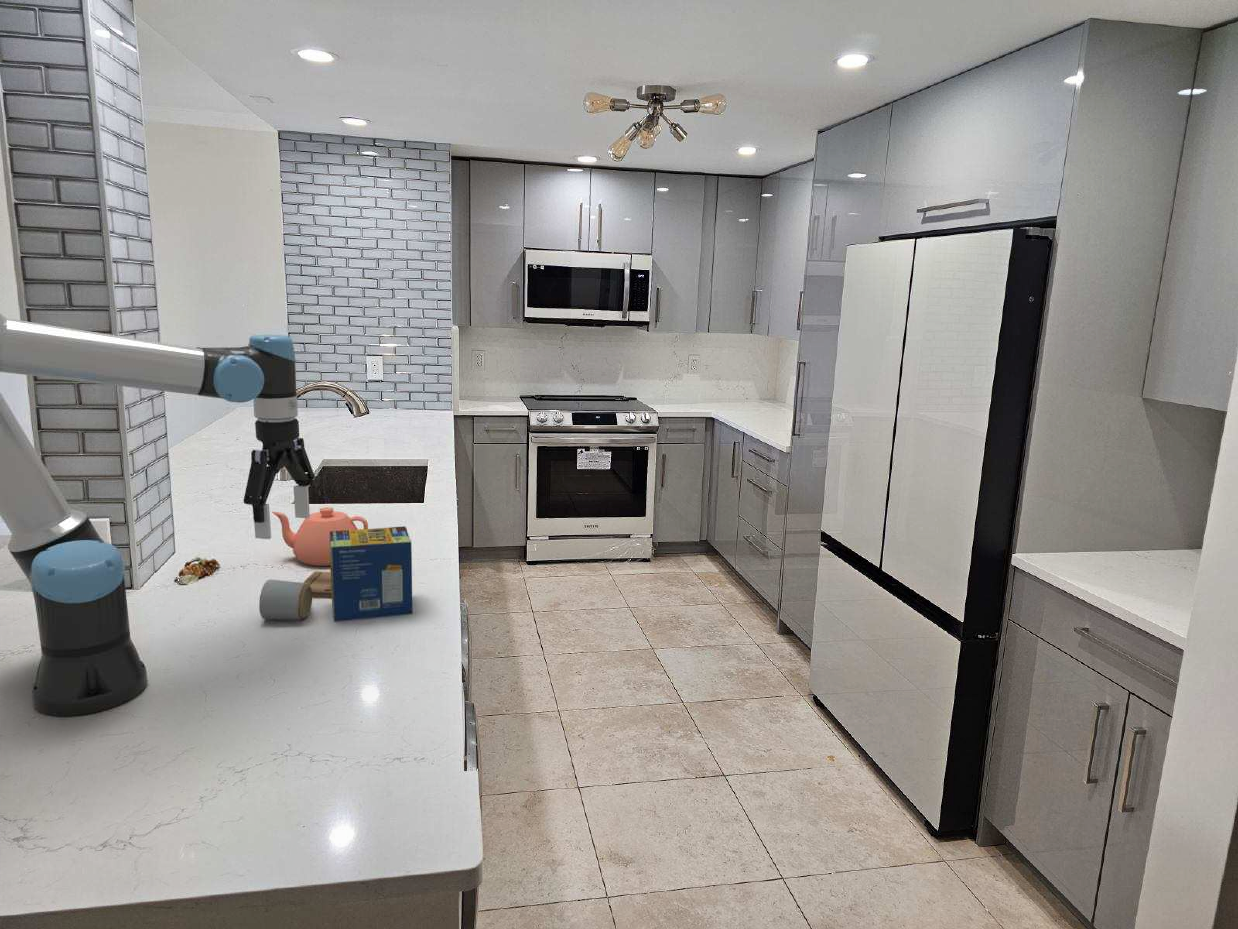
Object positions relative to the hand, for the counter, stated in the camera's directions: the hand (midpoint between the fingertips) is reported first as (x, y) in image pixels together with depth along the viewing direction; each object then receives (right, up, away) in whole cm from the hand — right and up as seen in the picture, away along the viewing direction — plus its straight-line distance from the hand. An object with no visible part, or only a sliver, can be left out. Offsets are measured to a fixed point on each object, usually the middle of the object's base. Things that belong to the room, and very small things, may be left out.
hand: (283, 527), depth 154 cm
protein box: (+14, -17, +10) cm, 24 cm away
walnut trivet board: (+1, -14, +19) cm, 24 cm away
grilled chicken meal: (-29, -13, +24) cm, 40 cm away
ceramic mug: (-1, -18, +5) cm, 19 cm away
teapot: (-6, -11, +37) cm, 39 cm away
